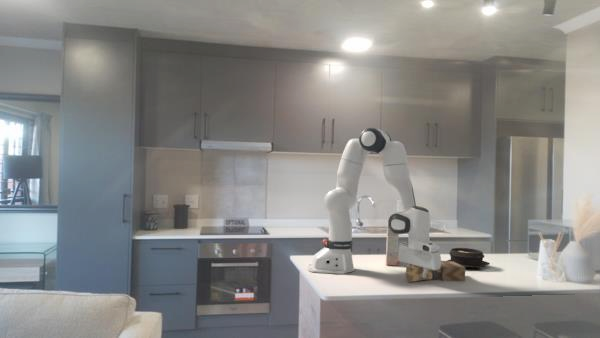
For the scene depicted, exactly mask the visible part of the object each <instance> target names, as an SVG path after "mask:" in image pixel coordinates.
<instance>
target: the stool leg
mask: <svg viewBox="0 0 600 338" xmlns="http://www.w3.org/2000/svg"><path fill="white" fill-rule="evenodd" d="M405 267H406V269H405V281H406V282H418V281H425V280H432V270H431V269H429V271H428V272H427V274H426V278H421V273H423V272H424V270H423V267H419V266H415V265H412V266H407V265H406V266H405Z"/></svg>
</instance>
